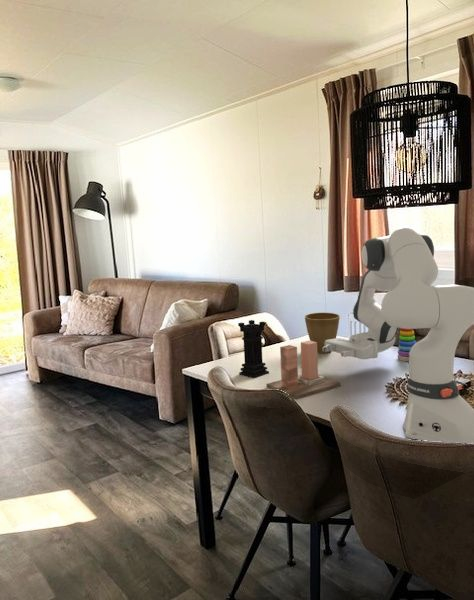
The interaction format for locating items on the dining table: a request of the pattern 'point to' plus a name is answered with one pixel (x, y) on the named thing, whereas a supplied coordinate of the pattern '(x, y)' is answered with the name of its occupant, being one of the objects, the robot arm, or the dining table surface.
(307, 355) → the loose pillar
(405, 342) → the stacking toy
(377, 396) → the dining table surface
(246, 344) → the chess piece
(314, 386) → the pillar base stand
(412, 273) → the robot arm
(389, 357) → the dining table surface
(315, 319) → the plant pot
